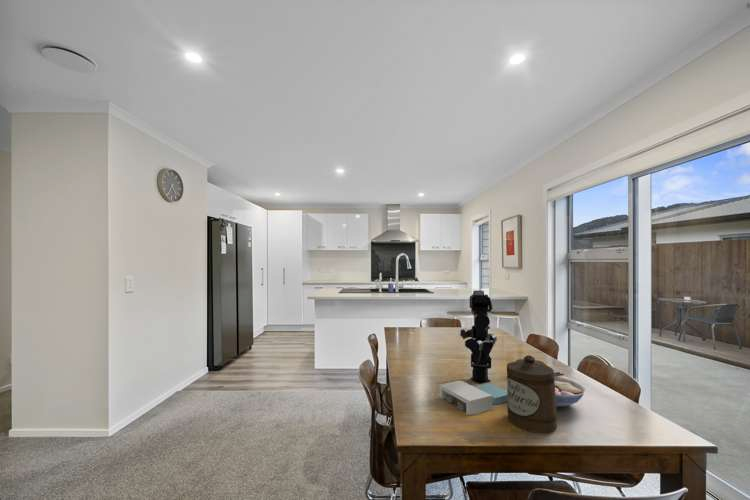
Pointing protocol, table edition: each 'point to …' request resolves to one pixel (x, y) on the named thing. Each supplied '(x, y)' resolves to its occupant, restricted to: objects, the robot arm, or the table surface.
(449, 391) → the white box
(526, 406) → the wooden container
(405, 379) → the table surface
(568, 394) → the ramen bowl
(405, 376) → the table surface
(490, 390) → the light blue slab
